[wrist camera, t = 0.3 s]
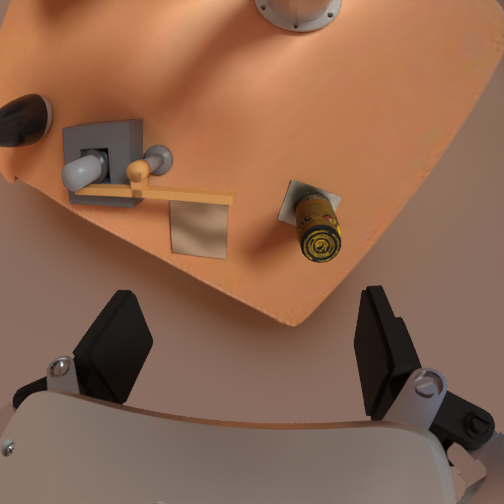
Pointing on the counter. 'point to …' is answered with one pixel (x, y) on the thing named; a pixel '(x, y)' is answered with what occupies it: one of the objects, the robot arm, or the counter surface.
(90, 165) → the plug
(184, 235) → the pad
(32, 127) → the pump dispenser
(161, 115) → the counter surface
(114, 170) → the socket block
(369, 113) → the counter surface
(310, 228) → the condiment
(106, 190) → the knobbed wooden stick
